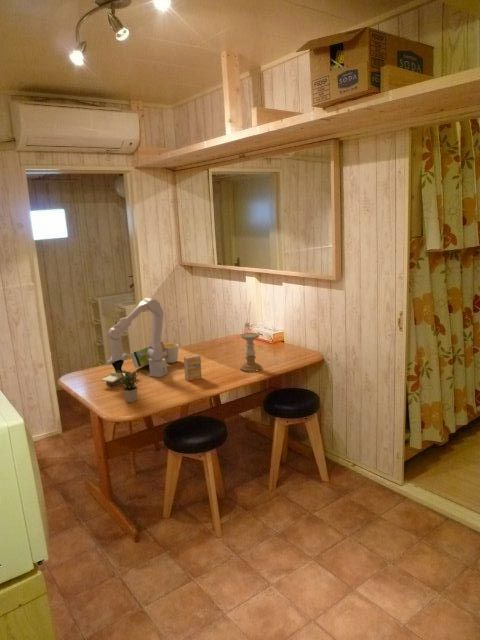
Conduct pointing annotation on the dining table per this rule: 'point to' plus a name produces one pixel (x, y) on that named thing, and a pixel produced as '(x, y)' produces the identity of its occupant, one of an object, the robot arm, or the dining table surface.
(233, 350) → the dining table surface
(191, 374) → the supplement box
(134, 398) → the house plant
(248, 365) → the candle holder
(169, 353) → the mug
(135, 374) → the walnut box
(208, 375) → the dining table surface
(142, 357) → the tea box
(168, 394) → the dining table surface
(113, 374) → the cover plate
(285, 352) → the dining table surface
